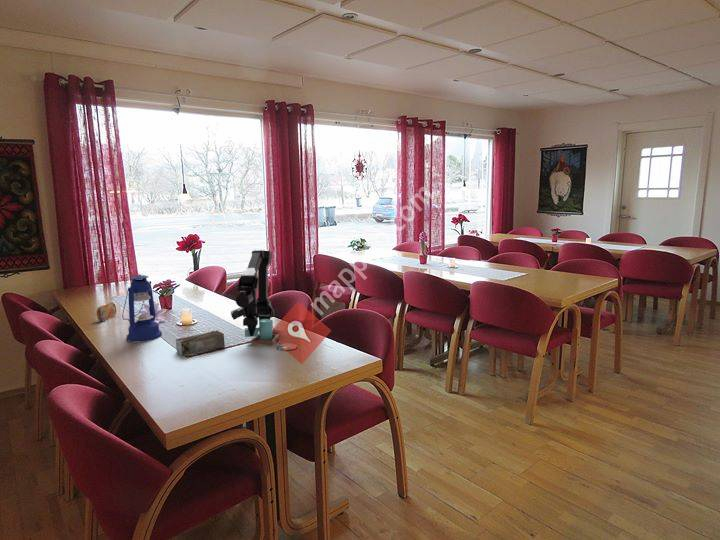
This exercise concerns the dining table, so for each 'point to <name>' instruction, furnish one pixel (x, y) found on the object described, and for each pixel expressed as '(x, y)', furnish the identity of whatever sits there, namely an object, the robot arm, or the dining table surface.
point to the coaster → (283, 347)
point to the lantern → (145, 323)
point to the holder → (262, 342)
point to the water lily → (155, 312)
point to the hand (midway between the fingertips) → (251, 335)
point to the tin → (106, 311)
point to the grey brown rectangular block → (200, 343)
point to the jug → (263, 330)
